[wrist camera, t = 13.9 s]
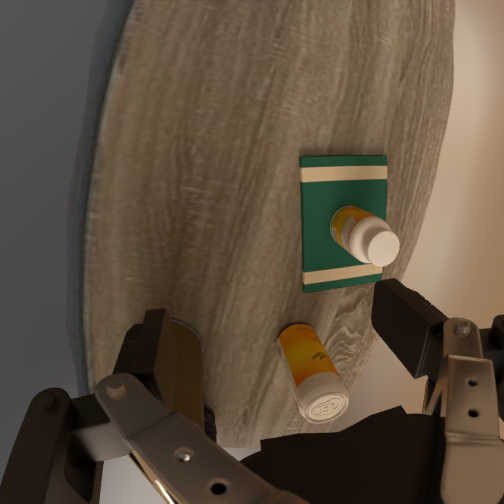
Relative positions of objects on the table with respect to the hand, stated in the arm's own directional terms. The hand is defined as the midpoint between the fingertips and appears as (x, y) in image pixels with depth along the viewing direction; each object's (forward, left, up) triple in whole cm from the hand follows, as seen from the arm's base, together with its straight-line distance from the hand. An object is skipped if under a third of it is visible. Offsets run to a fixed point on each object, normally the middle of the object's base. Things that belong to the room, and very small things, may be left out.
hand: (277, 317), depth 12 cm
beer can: (+22, +8, -28) cm, 37 cm away
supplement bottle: (+5, +15, -27) cm, 32 cm away
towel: (+5, +15, -28) cm, 32 cm away
